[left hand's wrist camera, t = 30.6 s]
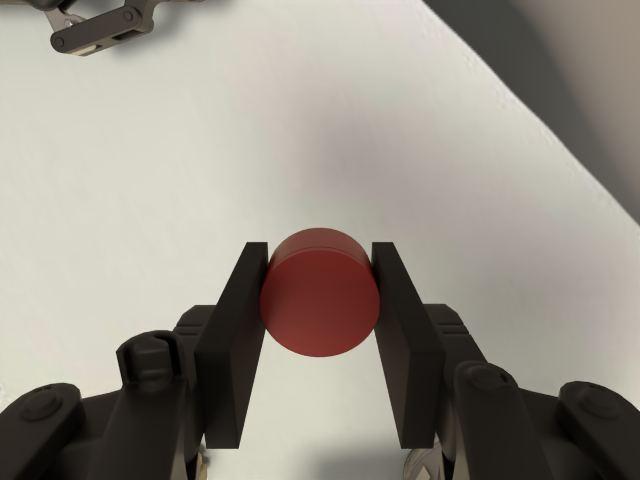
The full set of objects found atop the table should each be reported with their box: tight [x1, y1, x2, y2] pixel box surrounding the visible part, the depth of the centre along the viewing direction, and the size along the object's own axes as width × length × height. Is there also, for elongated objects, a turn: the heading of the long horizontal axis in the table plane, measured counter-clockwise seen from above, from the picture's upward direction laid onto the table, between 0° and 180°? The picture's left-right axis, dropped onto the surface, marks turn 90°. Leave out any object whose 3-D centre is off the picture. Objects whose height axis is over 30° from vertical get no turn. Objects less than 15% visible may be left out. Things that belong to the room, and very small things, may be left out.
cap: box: [260, 228, 380, 357], centre depth 14 cm, size 4×4×2 cm
